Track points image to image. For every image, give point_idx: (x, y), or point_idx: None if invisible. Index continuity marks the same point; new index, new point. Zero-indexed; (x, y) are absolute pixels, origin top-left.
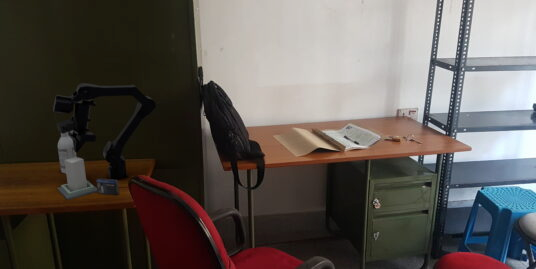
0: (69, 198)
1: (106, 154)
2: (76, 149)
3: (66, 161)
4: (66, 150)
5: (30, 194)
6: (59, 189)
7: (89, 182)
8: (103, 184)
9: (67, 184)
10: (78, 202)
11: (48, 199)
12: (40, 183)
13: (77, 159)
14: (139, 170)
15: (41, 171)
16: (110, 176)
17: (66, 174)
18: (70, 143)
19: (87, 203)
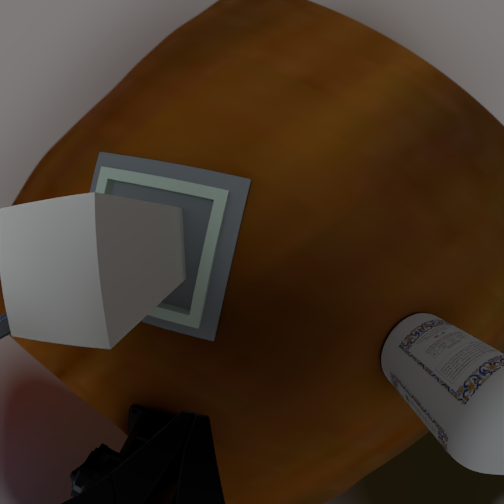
0: (98, 162)
1: (86, 487)
2: (160, 439)
3: (64, 197)
4: (461, 397)
5: (307, 77)
6: (221, 175)
7: (176, 328)
8: None
9: (209, 220)
10: (55, 178)
11: (181, 98)
12: (396, 174)
13: (29, 300)
14: None
15: (493, 258)
16: (153, 415)
17: (153, 202)
18: (471, 451)
19: (28, 199)
